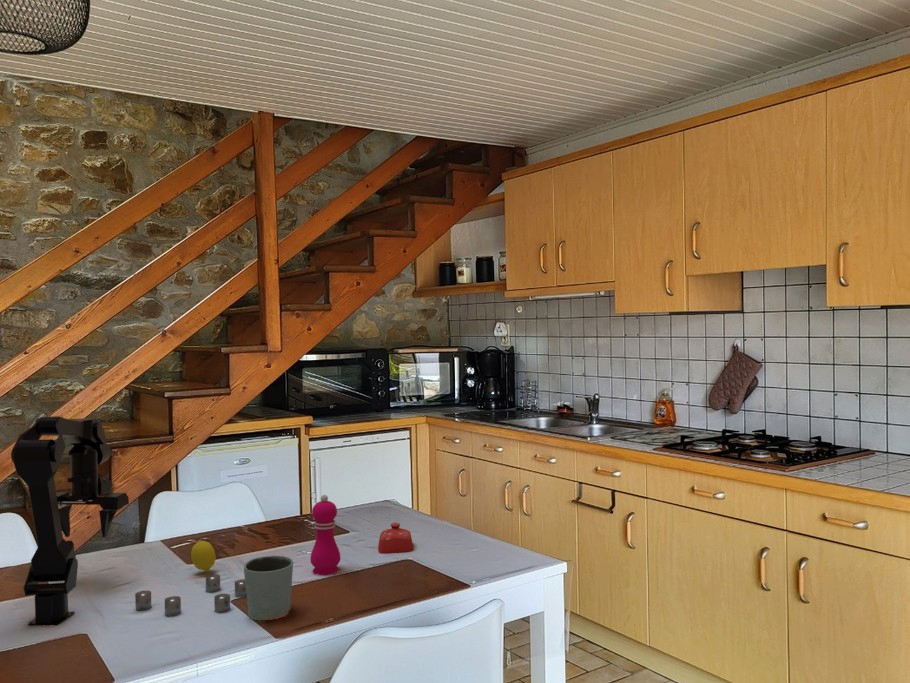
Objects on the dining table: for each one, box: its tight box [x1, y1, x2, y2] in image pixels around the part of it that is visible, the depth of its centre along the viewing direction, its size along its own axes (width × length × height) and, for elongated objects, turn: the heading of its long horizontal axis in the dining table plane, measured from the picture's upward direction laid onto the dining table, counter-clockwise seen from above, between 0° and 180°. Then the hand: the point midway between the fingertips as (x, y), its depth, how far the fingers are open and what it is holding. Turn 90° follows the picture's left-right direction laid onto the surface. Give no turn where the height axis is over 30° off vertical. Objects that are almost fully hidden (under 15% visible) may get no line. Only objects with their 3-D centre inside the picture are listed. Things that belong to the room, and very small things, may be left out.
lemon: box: [190, 540, 217, 572], centre depth 186 cm, size 6×6×8 cm
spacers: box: [134, 573, 247, 617], centre depth 168 cm, size 17×22×4 cm
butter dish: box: [377, 522, 414, 555], centre depth 203 cm, size 12×12×8 cm
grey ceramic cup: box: [243, 555, 294, 620], centre depth 159 cm, size 10×10×12 cm
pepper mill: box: [310, 494, 341, 576], centre depth 185 cm, size 7×7×20 cm
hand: (86, 536), depth 180 cm, fingers open, 9 cm apart
